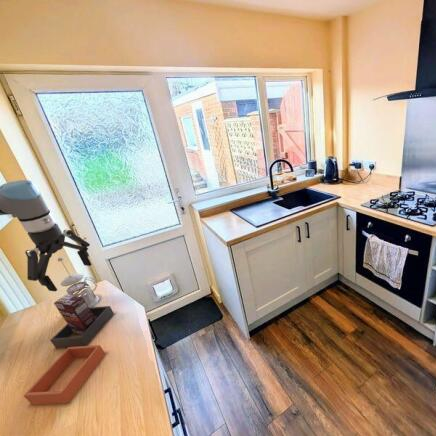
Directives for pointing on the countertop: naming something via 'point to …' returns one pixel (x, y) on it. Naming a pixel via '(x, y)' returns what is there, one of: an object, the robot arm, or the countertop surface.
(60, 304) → the supplement box
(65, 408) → the countertop surface
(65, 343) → the right crate
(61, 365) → the left crate
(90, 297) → the french press
